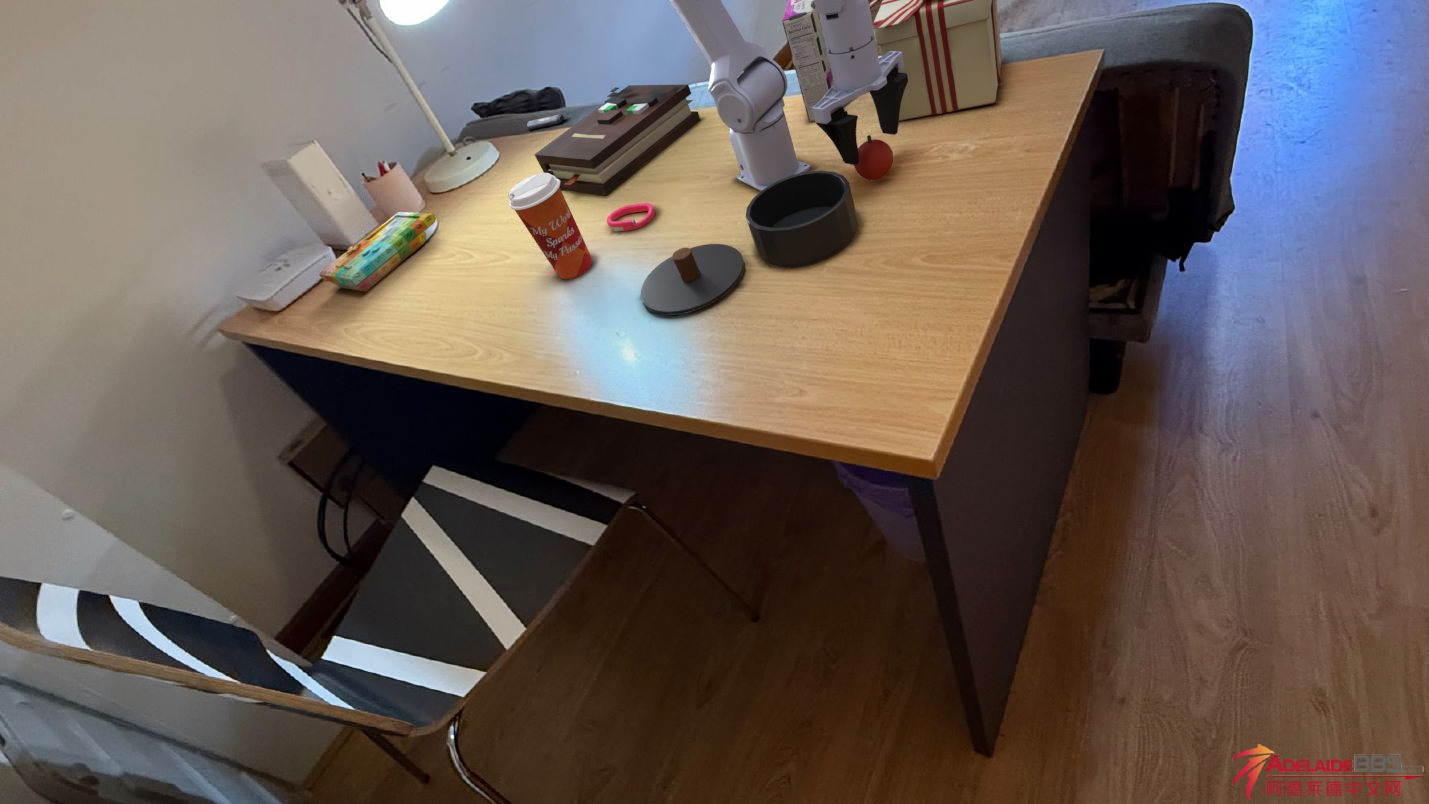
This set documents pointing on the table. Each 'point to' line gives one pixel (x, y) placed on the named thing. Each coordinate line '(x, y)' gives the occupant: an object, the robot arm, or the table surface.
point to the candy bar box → (808, 51)
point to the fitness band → (630, 223)
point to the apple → (874, 159)
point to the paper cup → (551, 224)
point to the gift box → (942, 52)
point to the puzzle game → (379, 251)
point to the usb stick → (545, 121)
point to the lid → (692, 279)
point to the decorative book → (618, 137)
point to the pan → (803, 218)
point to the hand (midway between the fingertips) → (871, 147)
